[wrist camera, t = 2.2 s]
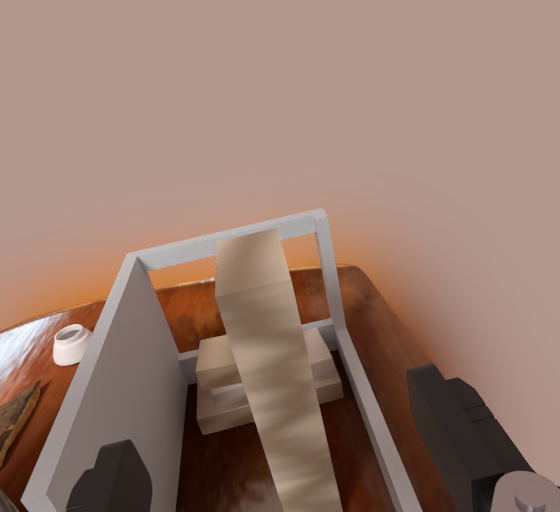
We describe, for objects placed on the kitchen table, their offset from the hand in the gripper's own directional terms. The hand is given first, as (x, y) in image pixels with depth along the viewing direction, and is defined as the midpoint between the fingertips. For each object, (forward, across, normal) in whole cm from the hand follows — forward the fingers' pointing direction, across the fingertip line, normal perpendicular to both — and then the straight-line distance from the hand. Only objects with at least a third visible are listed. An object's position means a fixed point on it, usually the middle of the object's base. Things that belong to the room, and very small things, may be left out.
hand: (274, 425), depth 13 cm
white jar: (+34, +24, +18) cm, 45 cm away
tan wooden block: (+12, 0, +18) cm, 21 cm away
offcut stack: (+21, +2, +18) cm, 28 cm away
